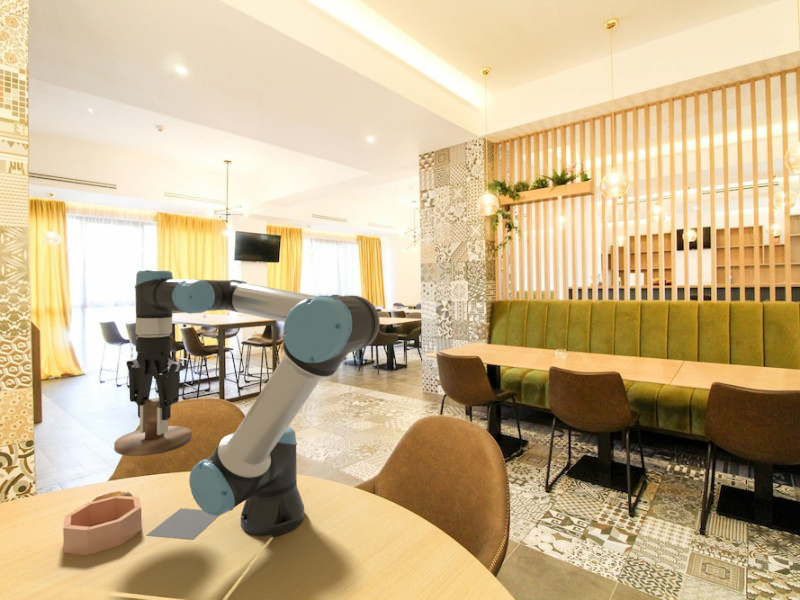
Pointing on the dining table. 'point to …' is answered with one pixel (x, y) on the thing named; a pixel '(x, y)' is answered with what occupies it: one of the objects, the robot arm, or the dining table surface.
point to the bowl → (102, 525)
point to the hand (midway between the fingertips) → (154, 431)
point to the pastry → (112, 495)
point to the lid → (152, 436)
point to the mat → (184, 524)
